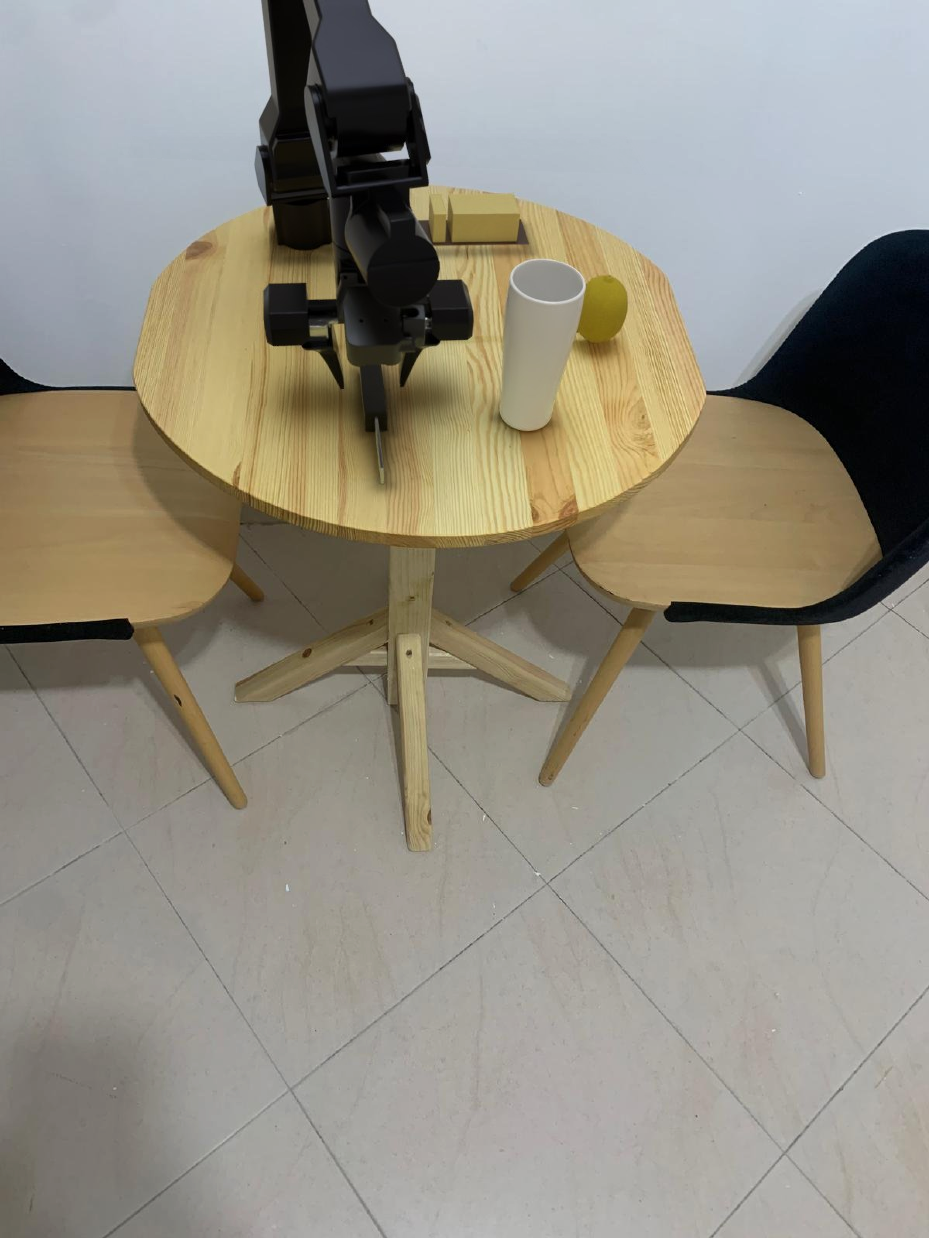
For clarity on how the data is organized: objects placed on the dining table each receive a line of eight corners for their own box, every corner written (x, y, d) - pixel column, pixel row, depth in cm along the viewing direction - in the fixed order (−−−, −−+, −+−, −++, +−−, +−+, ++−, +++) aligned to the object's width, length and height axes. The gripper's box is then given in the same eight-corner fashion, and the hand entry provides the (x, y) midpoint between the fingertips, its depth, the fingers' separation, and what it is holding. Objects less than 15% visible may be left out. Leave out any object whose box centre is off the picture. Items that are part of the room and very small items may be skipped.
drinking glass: (499, 442, 76) (518, 306, 64) (485, 396, 80) (500, 259, 67) (565, 436, 77) (597, 301, 65) (548, 390, 81) (575, 255, 68)
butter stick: (451, 242, 93) (453, 214, 90) (447, 222, 95) (448, 193, 92) (516, 241, 94) (520, 213, 91) (510, 221, 96) (513, 193, 94)
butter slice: (432, 243, 93) (433, 214, 90) (428, 222, 95) (429, 193, 92) (445, 242, 93) (446, 214, 90) (440, 222, 95) (441, 193, 92)
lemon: (620, 360, 84) (638, 294, 78) (569, 356, 84) (584, 290, 77) (615, 328, 87) (633, 262, 81) (567, 325, 87) (580, 258, 80)
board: (398, 254, 93) (398, 246, 92) (394, 228, 96) (394, 220, 95) (528, 252, 95) (529, 244, 94) (520, 226, 98) (521, 219, 97)
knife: (370, 484, 72) (369, 466, 70) (359, 371, 80) (358, 352, 78) (394, 483, 72) (394, 464, 70) (380, 371, 81) (379, 351, 79)
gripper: (251, 297, 59) (278, 447, 72) (490, 291, 62) (475, 437, 75) (252, 217, 65) (277, 369, 78) (470, 215, 68) (459, 362, 81)
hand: (371, 385), depth 78 cm, fingers open, 6 cm apart
